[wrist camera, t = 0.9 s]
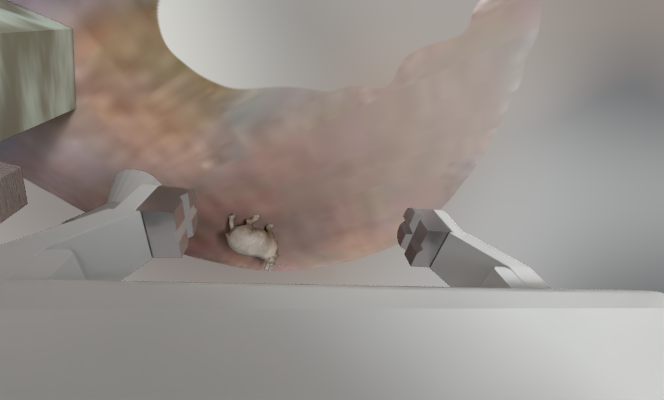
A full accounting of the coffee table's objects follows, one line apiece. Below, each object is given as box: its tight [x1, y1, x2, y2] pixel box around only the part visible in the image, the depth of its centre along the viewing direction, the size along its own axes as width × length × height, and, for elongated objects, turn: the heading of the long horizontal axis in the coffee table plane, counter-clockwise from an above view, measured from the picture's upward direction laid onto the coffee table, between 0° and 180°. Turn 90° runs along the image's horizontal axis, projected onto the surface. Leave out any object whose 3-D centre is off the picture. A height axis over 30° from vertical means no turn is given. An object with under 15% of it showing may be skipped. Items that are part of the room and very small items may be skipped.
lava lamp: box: [62, 169, 161, 224], centre depth 36 cm, size 9×9×35 cm
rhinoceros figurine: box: [225, 213, 280, 273], centre depth 58 cm, size 8×14×15 cm
